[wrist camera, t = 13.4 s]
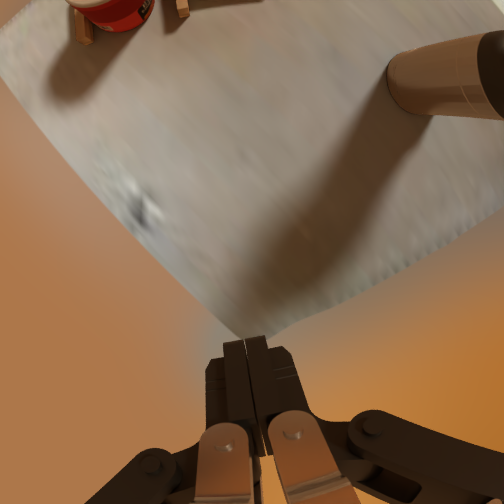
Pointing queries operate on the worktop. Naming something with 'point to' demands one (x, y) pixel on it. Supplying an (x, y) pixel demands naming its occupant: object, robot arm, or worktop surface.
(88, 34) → the birch holder
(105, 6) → the canned food
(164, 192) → the worktop surface
